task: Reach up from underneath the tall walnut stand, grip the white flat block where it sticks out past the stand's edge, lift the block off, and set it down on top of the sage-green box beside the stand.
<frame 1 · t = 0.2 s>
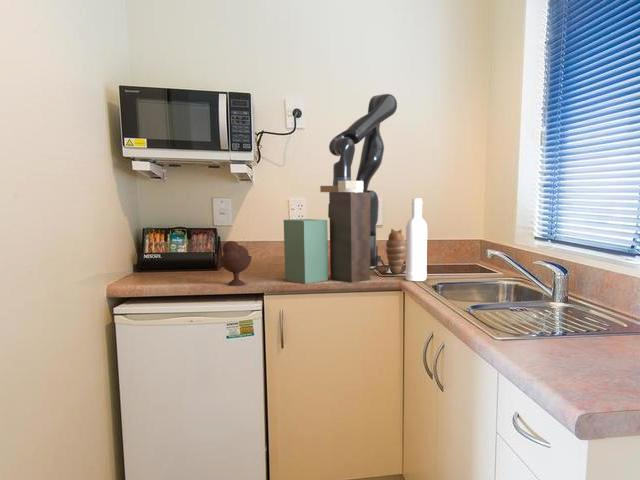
hand: (342, 229, 208), 17 cm above the worktop, tool pointing down, fingers open, 8 cm apart
bottle: (415, 280, 192), on the worktop
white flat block: (350, 192, 185), point 32 cm above the worktop, touching stand
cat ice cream: (395, 274, 206), on the worktop
stand: (350, 279, 191), on the worktop
ice cream bowl: (236, 284, 177), on the worktop
box: (306, 280, 188), on the worktop
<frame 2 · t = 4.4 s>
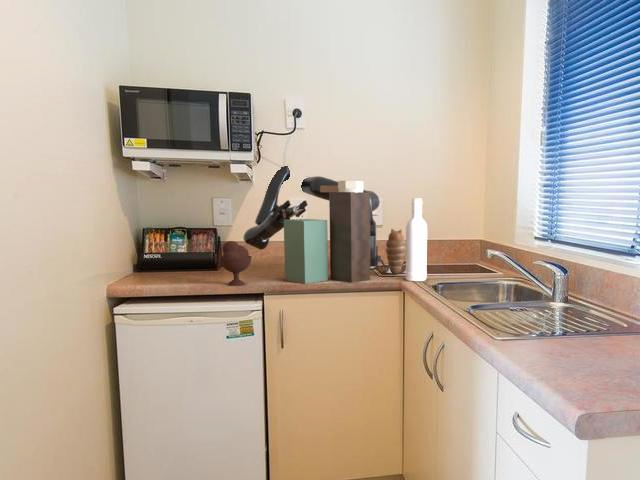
hand: (298, 202, 204), 28 cm above the worktop, tool pointing upward, fingers open, 8 cm apart
nothing on the worktop moved.
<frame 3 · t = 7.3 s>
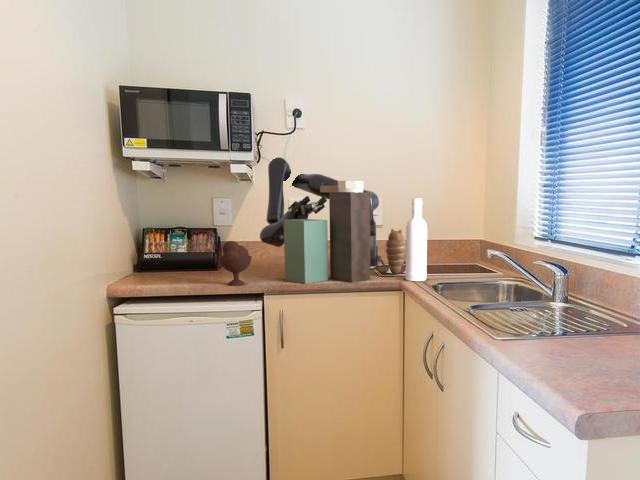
hand: (317, 198, 197), 30 cm above the worktop, tool pointing upward, fingers open, 8 cm apart
nothing on the worktop moved.
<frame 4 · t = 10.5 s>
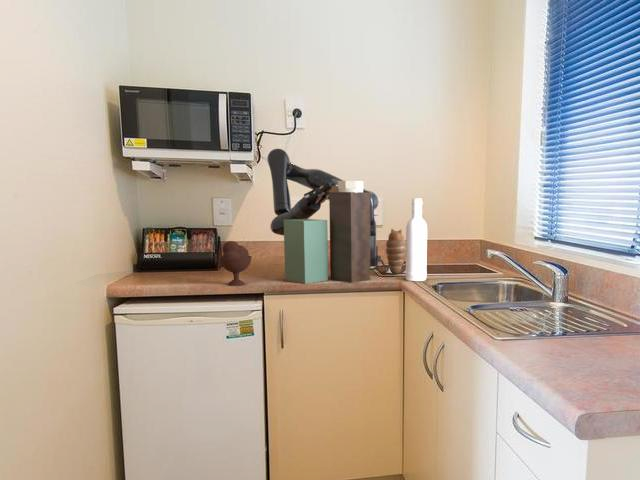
hand: (332, 185, 191), 35 cm above the worktop, tool pointing upward, fingers closed on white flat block, 2 cm apart
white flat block: (350, 192, 185), point 32 cm above the worktop, touching gripper, stand
everything else where it was.
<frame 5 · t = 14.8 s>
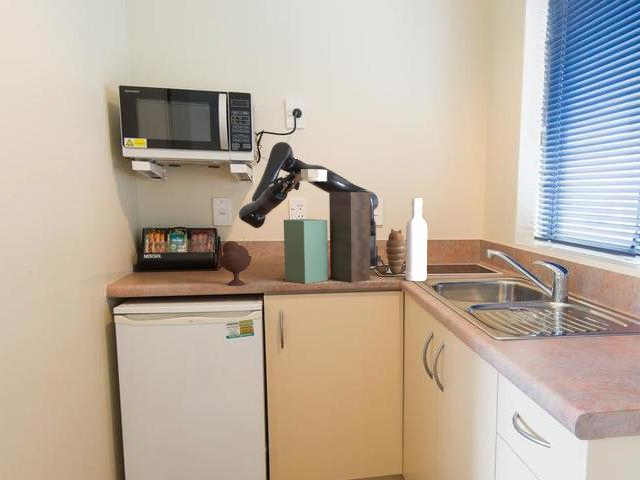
hand: (297, 174, 191), 39 cm above the worktop, tool pointing upward, fingers closed on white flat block
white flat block: (314, 181, 185), point 36 cm above the worktop, touching gripper
everything else where it was.
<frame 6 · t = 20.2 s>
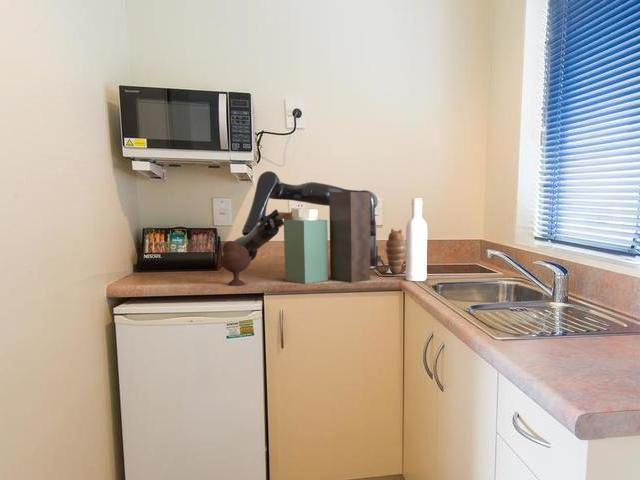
hand: (286, 211, 190), 25 cm above the worktop, tool pointing upward, fingers open, 8 cm apart
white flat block: (305, 219, 184), point 22 cm above the worktop, touching box
everything else where it was.
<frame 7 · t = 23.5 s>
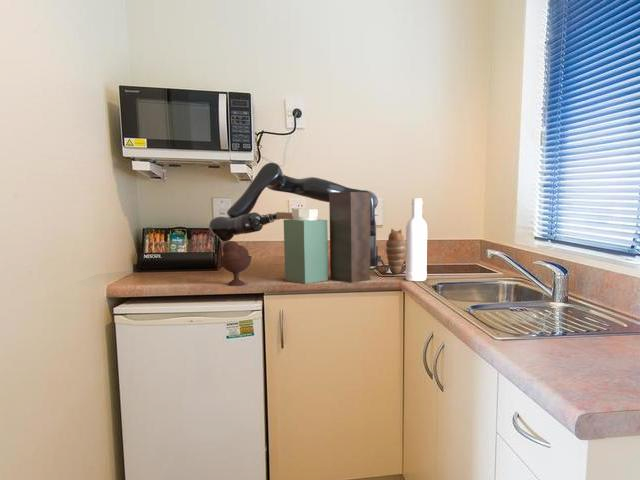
hand: (276, 217, 193), 22 cm above the worktop, tool horizontal, fingers open, 8 cm apart
nothing on the worktop moved.
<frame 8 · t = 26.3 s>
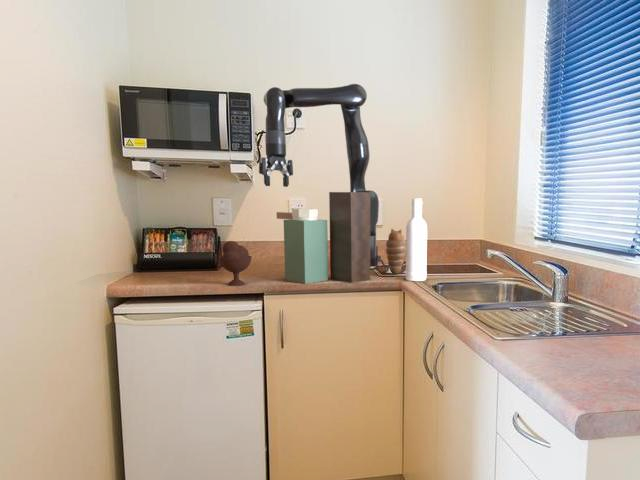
hand: (276, 186, 198), 34 cm above the worktop, tool pointing down, fingers open, 8 cm apart
nothing on the worktop moved.
at the end: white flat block inside the target area on the box (0.1 cm from its centre), point 22.0 cm above the box's base; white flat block tilted 0°; the gripper is holding nothing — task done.
